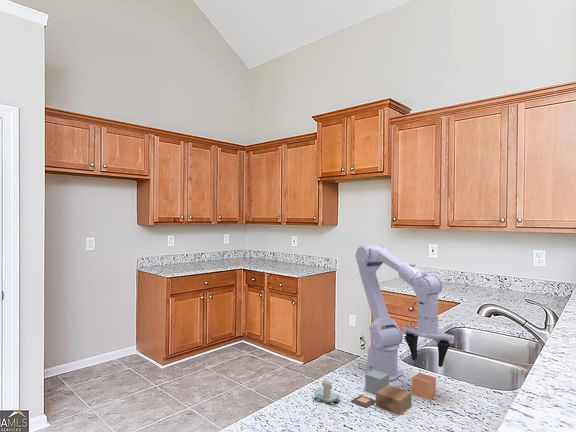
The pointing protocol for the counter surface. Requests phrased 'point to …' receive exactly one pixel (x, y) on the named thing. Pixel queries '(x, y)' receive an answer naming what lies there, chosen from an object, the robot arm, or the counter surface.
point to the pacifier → (327, 392)
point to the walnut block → (393, 399)
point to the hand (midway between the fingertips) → (427, 362)
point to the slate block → (376, 381)
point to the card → (363, 401)
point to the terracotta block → (424, 386)
